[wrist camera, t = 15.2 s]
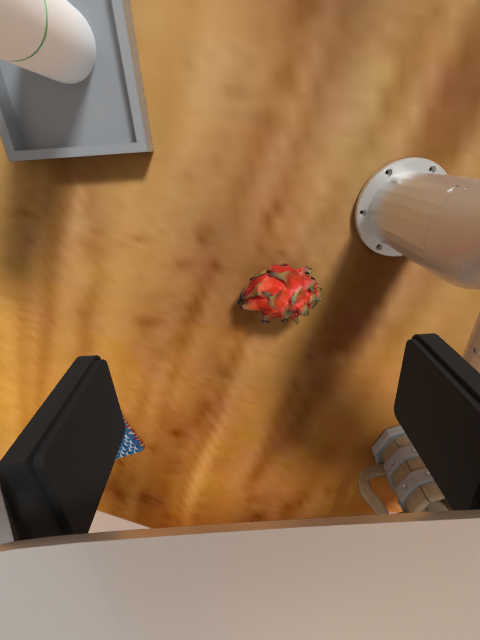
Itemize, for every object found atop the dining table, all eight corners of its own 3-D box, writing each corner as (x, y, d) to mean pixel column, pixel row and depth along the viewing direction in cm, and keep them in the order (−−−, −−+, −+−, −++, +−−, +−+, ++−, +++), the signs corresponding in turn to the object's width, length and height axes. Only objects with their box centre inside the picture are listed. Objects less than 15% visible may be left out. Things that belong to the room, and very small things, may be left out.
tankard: (432, 413, 62) (487, 485, 49) (441, 457, 68) (493, 532, 55) (329, 445, 66) (354, 521, 52) (346, 484, 71) (372, 562, 58)
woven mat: (70, 423, 62) (65, 431, 60) (120, 406, 61) (116, 414, 59) (100, 459, 67) (96, 468, 65) (148, 444, 65) (145, 453, 63)
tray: (111, -110, 32) (98, -138, 28) (153, 151, 42) (147, 151, 38) (-57, -97, 32) (-88, -123, 29) (25, 160, 42) (9, 161, 39)
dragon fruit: (319, 279, 51) (243, 287, 54) (320, 244, 44) (231, 255, 46) (325, 329, 48) (243, 335, 50) (327, 300, 40) (230, 309, 42)
